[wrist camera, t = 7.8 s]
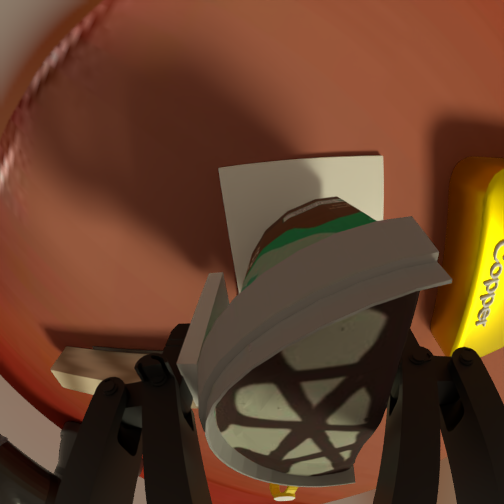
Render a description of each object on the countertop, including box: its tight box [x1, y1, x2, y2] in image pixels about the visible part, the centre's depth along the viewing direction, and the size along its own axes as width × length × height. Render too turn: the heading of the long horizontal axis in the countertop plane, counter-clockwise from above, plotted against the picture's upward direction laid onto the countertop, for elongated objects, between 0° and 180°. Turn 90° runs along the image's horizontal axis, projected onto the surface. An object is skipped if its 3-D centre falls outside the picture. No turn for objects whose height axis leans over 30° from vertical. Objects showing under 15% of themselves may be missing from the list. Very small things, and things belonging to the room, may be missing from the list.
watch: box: [270, 483, 298, 501], centre depth 27 cm, size 6×3×6 cm, turn 156°
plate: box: [218, 155, 384, 293], centre depth 17 cm, size 9×13×1 cm
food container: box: [198, 196, 452, 487], centre depth 11 cm, size 12×6×10 cm, turn 6°
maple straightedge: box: [50, 346, 199, 408], centre depth 19 cm, size 30×3×4 cm, turn 97°
